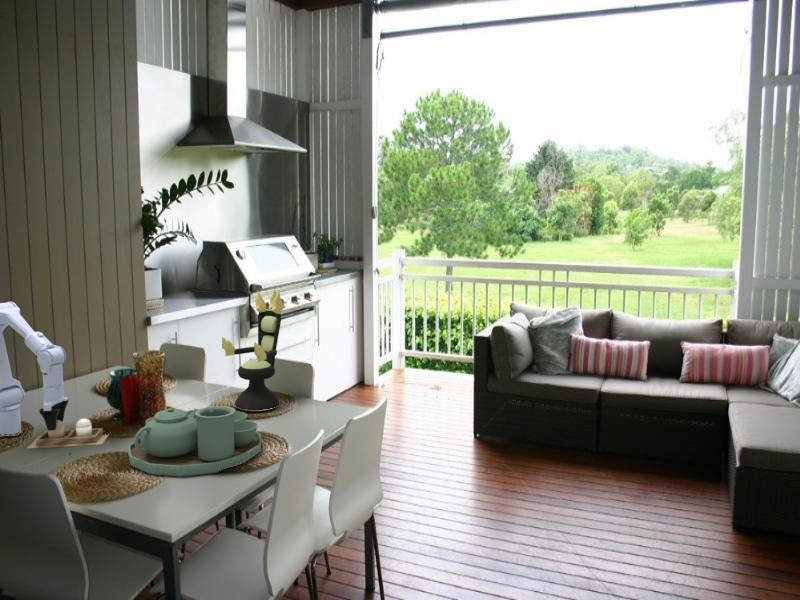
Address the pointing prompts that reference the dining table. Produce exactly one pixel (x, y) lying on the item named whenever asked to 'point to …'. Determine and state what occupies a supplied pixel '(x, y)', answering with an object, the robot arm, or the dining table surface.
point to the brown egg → (57, 431)
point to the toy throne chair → (260, 356)
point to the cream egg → (83, 428)
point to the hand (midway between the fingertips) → (55, 426)
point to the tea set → (194, 441)
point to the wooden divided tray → (69, 439)
